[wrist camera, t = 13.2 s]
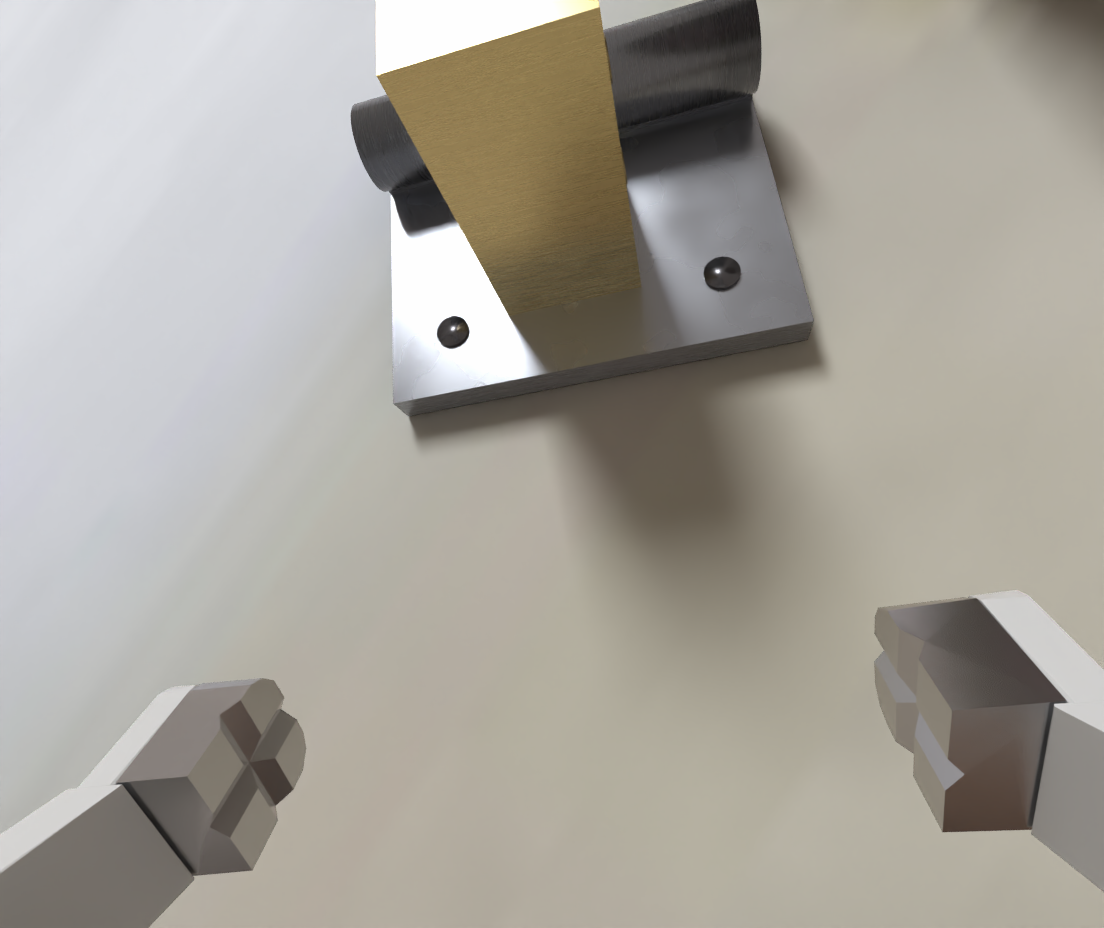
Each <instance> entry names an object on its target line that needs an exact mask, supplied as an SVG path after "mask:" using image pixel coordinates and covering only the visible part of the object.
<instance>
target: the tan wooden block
mask: <svg viewBox="0 0 1104 928" xmlns="http://www.w3.org/2000/svg"><path fill="white" fill-rule="evenodd" d="M376 76H377V77H378V79H379V81H380V83H381V85H382V86H383V88H384V90H385V92H386V94H387V96H388V97H389V99H390V101H391V103H392V105H393V106H394V108H395V110H396V112H397V114H398V116H399V117H400V119H401V121H402V123H403V125H404V126H405V128H406V130H407V132H408V134H409V136H410V137H411V139H412V141H413V143H414V145H415V147H416V148H417V150H418V152H419V154H420V156H421V157H422V159H423V161H424V163H425V165H426V167H427V168H428V170H429V172H430V174H431V176H432V177H433V179H434V181H435V183H436V185H437V187H438V188H439V190H440V192H441V194H442V196H443V197H444V199H445V201H446V203H447V205H448V207H449V208H450V210H451V212H452V214H453V216H454V218H455V219H456V221H457V223H458V225H459V227H460V228H461V230H462V232H463V234H464V236H465V238H466V239H467V241H468V243H469V245H470V247H471V248H472V250H473V252H474V254H475V256H476V258H477V259H478V261H479V263H480V265H481V267H482V268H483V270H484V272H485V274H486V276H487V278H488V279H489V281H490V283H491V285H492V287H493V289H494V290H495V292H496V294H497V296H498V298H499V299H500V301H501V303H502V305H503V307H504V309H505V310H506V312H507V314H508V316H510V315H515V314H519V313H524V312H528V311H533V310H538V309H542V308H547V307H551V306H556V305H561V304H565V303H570V302H574V301H579V300H584V299H588V298H593V297H597V296H602V295H607V294H611V293H616V292H620V291H625V290H630V289H634V288H639V287H642V286H641V280H640V273H639V266H638V260H637V253H636V246H635V240H634V233H633V226H632V220H631V213H630V207H629V200H628V193H627V187H626V185H628V182H627V176H626V169H625V163H624V157H623V151H622V147H620V140H619V133H618V127H617V120H616V113H615V107H614V100H613V93H612V87H611V84H613V80H612V73H611V67H610V60H609V54H608V48H607V42H606V36H605V34H604V33H603V27H602V20H601V13H600V7H599V1H598V0H376Z"/></svg>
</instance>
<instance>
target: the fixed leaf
mask: <svg viewBox="0 0 1104 928" xmlns="http://www.w3.org/2000/svg"><path fill="white" fill-rule="evenodd" d="M603 33H604V34H605V36H606V42H607V48H608V54H609V60H610V67H611V73H612V80H613V84H611V87H612V93H613V100H614V107H615V113H616V120H617V127H618V133H619V140H620V147H622V151H623V157H624V163H625V169H626V176H627V182H628V185H626V187H627V193H628V200H629V207H630V213H631V220H632V226H633V233H634V240H635V246H636V253H637V260H638V266H639V273H640V280H641V286H642V287H639V288H634V289H630V290H625V291H620V292H616V293H611V294H607V295H602V296H597V297H593V298H588V299H584V300H579V301H574V302H570V303H565V304H561V305H556V306H551V307H547V308H542V309H538V310H533V311H528V312H524V313H519V314H515V315H510V316H508V314H507V312H506V310H505V309H504V307H503V305H502V303H501V301H500V299H499V298H498V296H497V294H496V292H495V290H494V289H493V287H492V285H491V283H490V281H489V279H488V278H487V276H486V274H485V272H484V270H483V268H482V267H481V265H480V263H479V261H478V259H477V258H476V256H475V254H474V252H473V250H472V248H471V247H470V245H469V243H468V241H467V239H466V238H465V236H464V234H463V232H462V230H461V228H460V227H459V225H458V223H457V221H456V219H455V218H454V216H453V214H452V212H451V210H450V208H449V207H448V205H447V203H446V201H445V199H444V197H443V196H442V194H441V192H440V190H439V188H438V187H437V185H436V183H435V181H434V179H433V177H432V176H431V174H430V172H429V170H428V168H427V167H426V165H425V163H424V161H423V159H422V157H421V156H420V154H419V152H418V150H417V148H416V147H415V145H414V143H413V141H412V139H411V137H410V136H409V134H408V132H407V130H406V128H405V126H404V125H403V123H402V121H401V119H400V117H399V116H398V114H397V112H396V110H395V108H394V106H393V105H392V103H391V101H390V99H389V97H388V96H387V95H384V96H381V97H377V98H374V99H371V100H367V101H364V102H361V103H357V104H355V105H353V107H352V110H351V125H352V131H353V136H354V140H355V143H356V146H357V150H358V152H359V155H360V158H361V160H362V162H363V165H364V167H365V169H366V171H367V173H368V174H369V176H370V178H371V179H372V181H373V182H374V184H375V185H376V186H377V187H378V188H379V189H380V190H382V191H384V192H386V191H389V192H390V194H391V229H392V328H393V404H394V405H396V406H397V407H398V408H399V409H400V410H402V411H403V412H404V413H405V414H406V415H407V416H411V415H417V414H422V413H427V412H432V411H437V410H443V409H448V408H453V407H458V406H463V405H469V404H474V403H479V402H484V401H490V400H495V399H500V398H505V397H510V396H516V395H521V394H526V393H531V392H537V391H542V390H547V389H552V388H557V387H563V386H568V385H573V384H578V383H583V382H589V381H594V380H599V379H604V378H610V377H615V376H620V375H625V374H630V373H636V372H641V371H646V370H651V369H657V368H662V367H667V366H672V365H677V364H683V363H688V362H693V361H698V360H703V359H709V358H714V357H719V356H724V355H730V354H735V353H740V352H745V351H750V350H756V349H761V348H766V347H771V346H777V345H782V344H787V343H792V342H797V341H803V340H807V339H808V337H809V334H810V331H811V328H812V325H813V322H814V319H813V316H812V312H811V309H810V305H809V301H808V298H807V294H806V291H805V287H804V283H803V280H802V276H801V273H800V269H799V265H798V262H797V258H796V255H795V251H794V248H793V244H792V240H791V237H790V233H789V230H788V226H787V222H786V219H785V215H784V212H783V208H782V204H781V201H780V197H779V194H778V190H777V187H776V183H775V179H774V176H773V172H772V169H771V165H770V161H769V158H768V154H767V151H766V147H765V143H764V140H763V136H762V133H761V129H760V126H759V122H758V118H757V115H756V111H755V108H754V104H753V100H752V94H753V93H755V92H756V91H757V89H758V85H759V80H760V72H761V33H760V22H759V14H758V8H757V3H756V0H702V1H699V2H696V3H692V4H689V5H686V6H682V7H679V8H675V9H672V10H669V11H665V12H662V13H659V14H655V15H652V16H649V17H645V18H642V19H639V20H635V21H632V22H629V23H625V24H622V25H619V26H615V27H612V28H608V29H605V30H603Z"/></svg>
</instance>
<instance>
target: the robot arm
mask: <svg viewBox="0 0 1104 928" xmlns="http://www.w3.org/2000/svg"><path fill="white" fill-rule="evenodd" d="M874 634H875V635H876V637H877V639H878V641H879V642H880V644H881V646H882V648H883V649H884V651H883V652H882V653H881V654H880V656H879V657H878V658H877V659H876V660H875V661H874V667H875V685H876V689H877V694H878V699H879V703H880V707H881V709H882V712H883V715H884V717H885V720H886V723H887V725H888V727H889V729H890V731H891V733H892V735H893V737H894V739H895V741H896V742H897V743H898V744H900V745H901V746H903V747H904V748H906V749H907V750H909V751H910V752H912V753H913V754H914V767H913V776H914V778H915V780H916V782H917V784H918V786H919V788H920V790H921V792H922V794H923V796H924V798H925V800H926V801H927V803H928V805H929V807H930V809H931V811H932V813H933V815H934V817H935V819H936V821H937V823H938V825H939V826H940V828H941V830H942V832H967V831H1002V830H1032V832H1031V834H1032V835H1033V836H1034V837H1035V838H1037V839H1038V840H1039V841H1040V842H1042V843H1043V844H1044V845H1045V846H1047V847H1048V848H1049V849H1050V850H1052V851H1053V852H1054V853H1055V854H1057V855H1058V856H1059V857H1060V858H1062V859H1063V860H1064V861H1066V862H1067V863H1068V864H1069V865H1071V866H1072V867H1073V868H1074V869H1076V870H1077V871H1078V872H1079V873H1081V874H1082V875H1083V876H1084V877H1086V878H1087V879H1088V880H1089V881H1091V882H1092V883H1093V884H1094V885H1096V886H1097V887H1098V888H1099V889H1101V890H1102V891H1103V892H1104V669H1103V668H1102V667H1101V666H1100V665H1099V664H1098V663H1097V662H1096V661H1095V660H1094V659H1093V658H1092V657H1091V656H1090V655H1089V654H1088V653H1087V652H1086V651H1085V650H1084V649H1083V648H1082V647H1081V646H1080V645H1079V644H1078V643H1077V642H1076V641H1075V640H1074V639H1073V638H1072V637H1070V636H1069V635H1068V634H1067V633H1066V632H1065V631H1064V630H1063V629H1062V628H1061V627H1060V626H1059V625H1058V624H1057V623H1056V622H1055V621H1054V620H1053V619H1052V618H1051V617H1050V616H1049V615H1048V614H1047V613H1046V612H1045V611H1044V610H1043V609H1042V608H1041V607H1040V606H1039V605H1038V604H1037V603H1036V602H1035V601H1034V600H1033V599H1032V598H1031V597H1030V596H1029V595H1028V594H1025V593H1023V592H1021V591H1019V590H1011V591H1003V592H995V593H988V594H980V595H973V596H969V597H968V598H965V597H962V598H954V599H946V600H938V601H930V602H921V603H913V604H905V605H897V606H888V607H880V608H878V610H877V612H876V615H875V632H874ZM283 700H284V696H283V694H282V693H281V691H280V689H279V688H278V686H277V685H276V683H275V681H274V680H269V679H263V678H259V679H248V680H236V681H225V682H213V683H203V684H201V685H188V686H175V687H172V688H169V689H167V690H165V691H163V692H161V693H159V694H158V695H157V697H156V698H155V699H154V700H153V701H152V702H151V704H150V705H149V706H148V707H147V708H146V709H145V710H144V712H143V713H142V714H141V715H140V716H139V717H138V719H137V720H136V721H135V722H134V723H133V724H132V725H131V727H130V728H129V729H128V730H127V731H126V732H125V734H124V735H123V736H122V737H121V738H120V739H119V740H118V742H117V743H116V744H115V745H114V746H113V747H112V749H111V750H110V751H109V752H108V753H107V754H106V755H105V757H104V758H103V759H102V760H101V761H100V762H99V764H98V765H97V766H96V767H95V768H94V769H93V770H92V772H91V773H90V774H89V775H88V776H87V777H86V779H85V780H84V781H83V782H82V783H81V784H80V785H79V787H78V788H72V789H67V790H65V791H64V792H62V793H61V794H59V795H58V796H56V797H55V798H53V799H52V800H50V801H49V802H47V803H46V804H44V805H43V806H42V807H40V808H39V809H37V810H36V811H34V812H33V813H31V814H30V815H28V816H27V817H25V818H24V819H22V820H21V821H19V822H18V823H16V824H15V825H13V826H12V827H11V828H9V829H8V830H6V831H5V832H3V833H2V834H0V928H149V927H150V926H151V924H152V923H153V922H154V921H155V920H156V919H157V918H158V917H159V916H160V915H161V914H162V913H163V912H164V911H165V910H166V909H167V908H168V907H169V906H170V905H171V904H172V903H173V901H174V900H175V899H176V898H177V897H178V896H179V895H180V894H181V893H182V892H183V891H184V890H185V889H186V888H187V887H188V886H189V885H190V884H191V883H192V882H193V881H194V877H193V876H197V875H208V874H219V873H230V872H241V871H252V870H253V868H254V866H255V864H256V862H257V860H258V858H259V857H260V855H261V853H262V851H263V849H264V847H265V845H266V843H267V841H268V839H269V837H270V835H271V833H272V831H273V829H274V827H275V825H276V823H277V821H278V818H277V811H276V805H277V804H278V803H279V802H280V801H281V800H282V799H284V798H285V797H286V796H287V795H288V794H289V793H290V792H291V791H292V790H294V787H295V785H296V783H297V781H298V779H299V777H300V775H301V773H302V771H303V766H304V759H305V753H306V744H305V739H304V733H303V731H302V729H301V727H300V725H299V723H298V721H297V719H295V718H293V717H292V716H290V715H289V714H287V713H286V712H284V711H283V710H281V707H282V704H283Z"/></svg>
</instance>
